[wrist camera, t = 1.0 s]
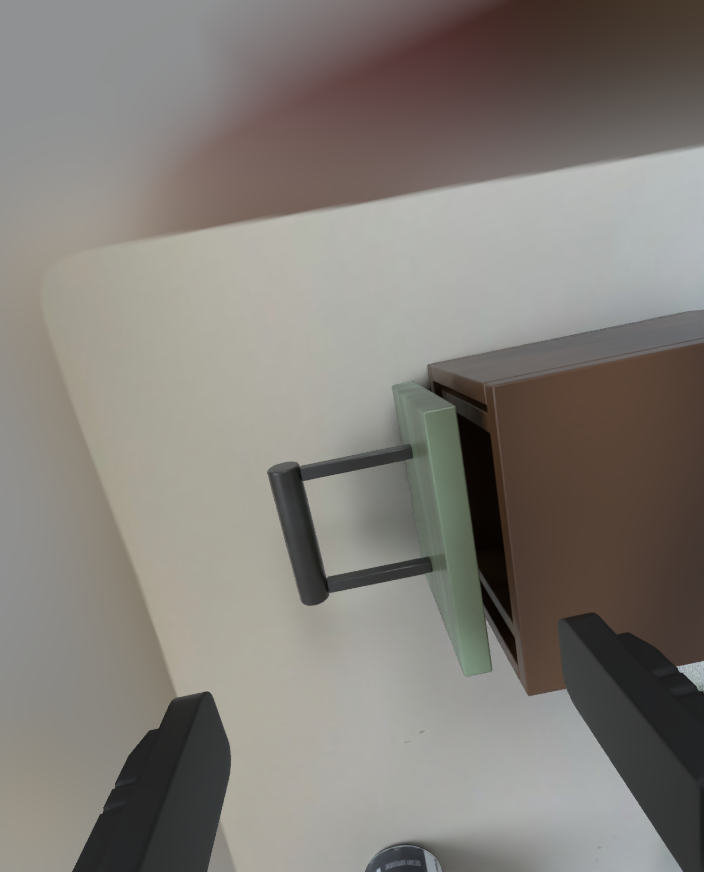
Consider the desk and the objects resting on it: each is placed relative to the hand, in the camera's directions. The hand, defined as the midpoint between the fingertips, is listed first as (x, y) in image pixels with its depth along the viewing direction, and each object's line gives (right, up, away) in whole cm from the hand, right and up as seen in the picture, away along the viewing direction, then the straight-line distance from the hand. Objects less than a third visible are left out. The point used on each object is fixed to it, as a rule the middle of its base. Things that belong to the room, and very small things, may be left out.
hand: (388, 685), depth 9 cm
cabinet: (+12, +5, +15) cm, 20 cm away
